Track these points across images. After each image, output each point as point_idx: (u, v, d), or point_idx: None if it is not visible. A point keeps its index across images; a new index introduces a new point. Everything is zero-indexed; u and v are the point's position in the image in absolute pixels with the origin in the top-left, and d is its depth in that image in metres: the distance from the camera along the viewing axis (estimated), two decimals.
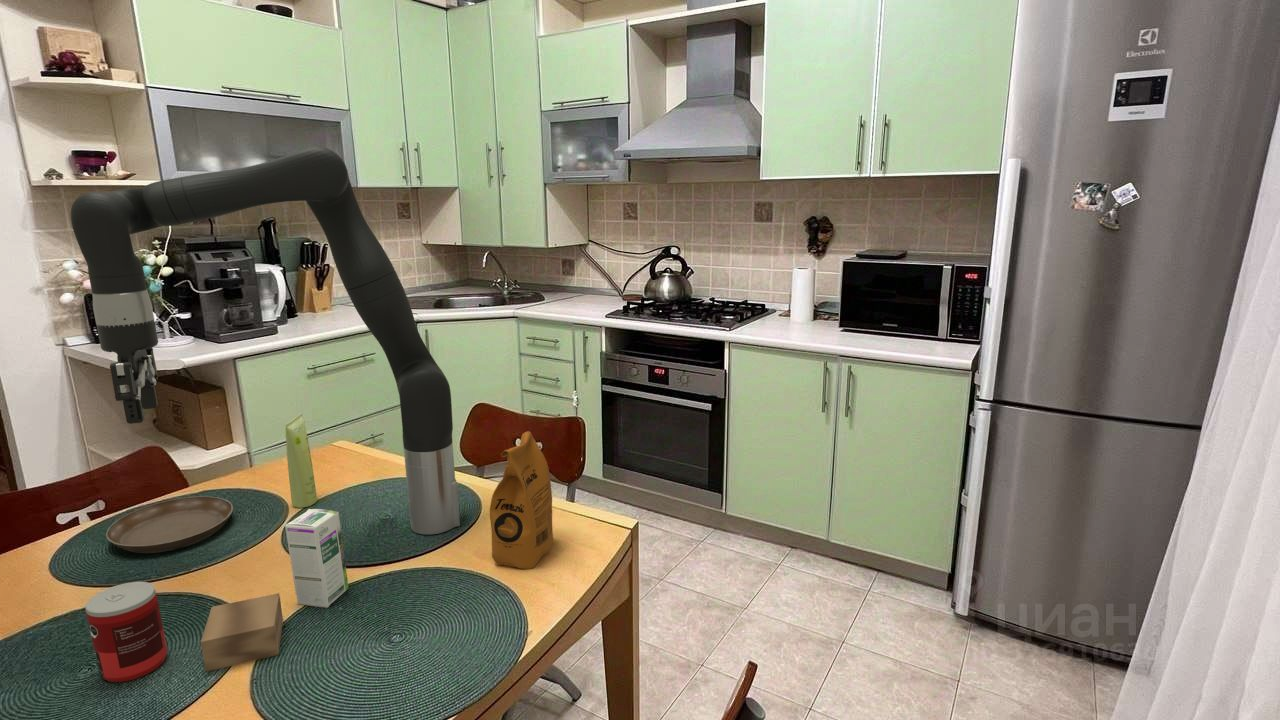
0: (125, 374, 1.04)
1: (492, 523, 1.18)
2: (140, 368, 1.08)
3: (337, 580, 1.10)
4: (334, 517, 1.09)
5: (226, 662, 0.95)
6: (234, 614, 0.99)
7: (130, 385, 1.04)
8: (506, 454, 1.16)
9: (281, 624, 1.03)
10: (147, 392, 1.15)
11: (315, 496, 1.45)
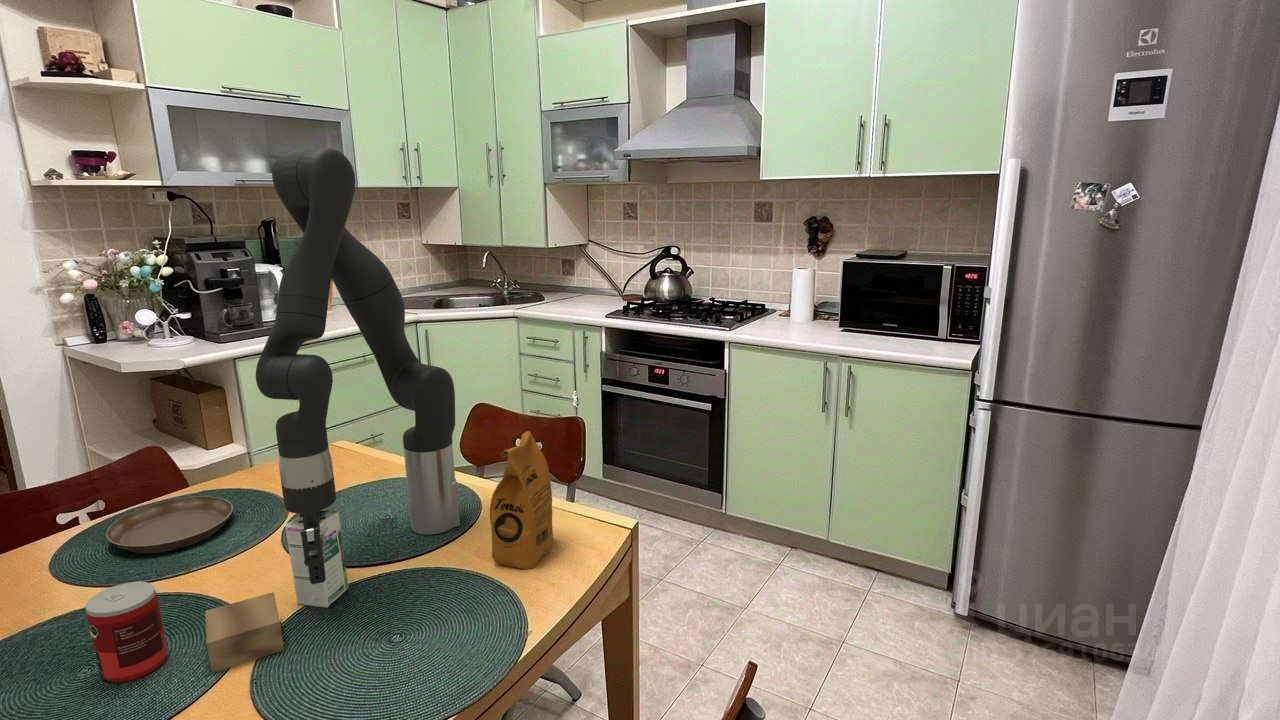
0: (315, 540, 1.02)
1: (492, 523, 1.18)
2: None
3: (337, 579, 1.10)
4: (334, 517, 1.09)
5: (232, 662, 0.95)
6: (232, 615, 0.98)
7: (319, 550, 1.03)
8: (506, 454, 1.16)
9: None
10: None
11: None
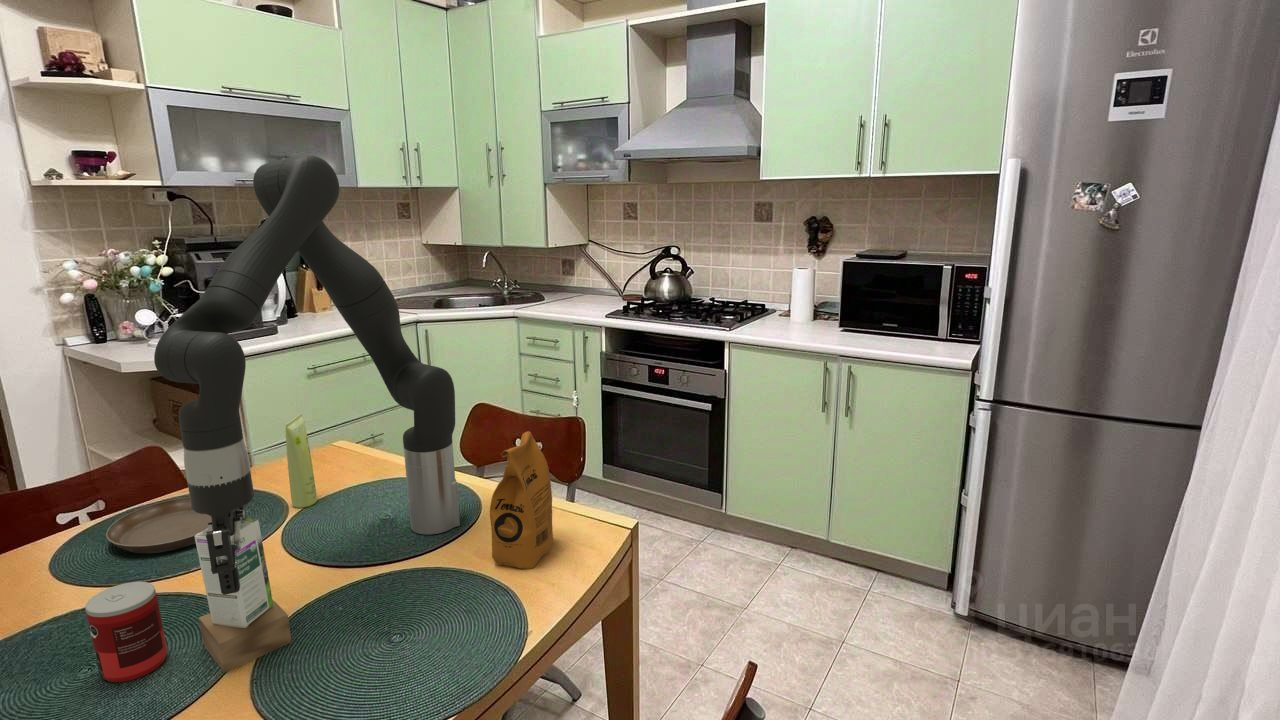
0: (223, 544, 0.89)
1: (492, 523, 1.18)
2: (236, 529, 0.93)
3: (258, 596, 0.98)
4: (252, 526, 0.96)
5: (244, 660, 0.95)
6: None
7: (228, 556, 0.89)
8: (506, 454, 1.16)
9: None
10: None
11: (315, 496, 1.45)
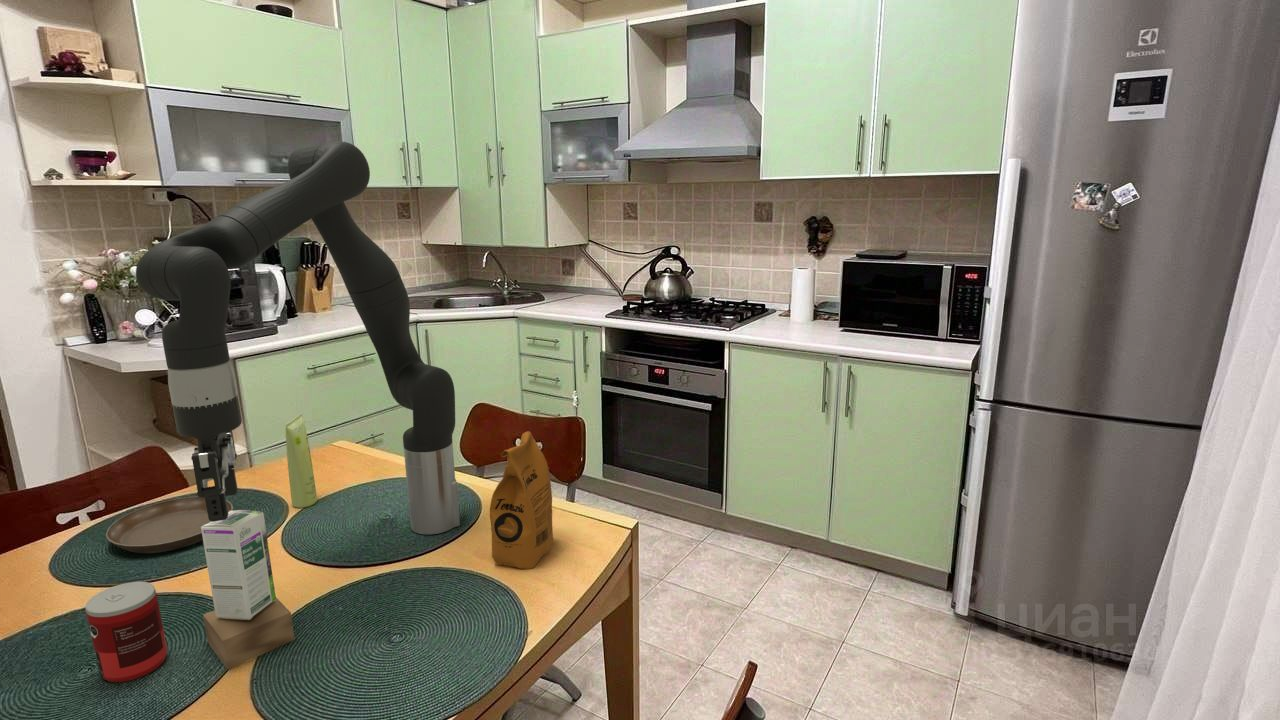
0: (209, 466, 0.86)
1: (492, 523, 1.18)
2: (223, 454, 0.90)
3: (262, 588, 0.99)
4: (258, 518, 0.99)
5: (247, 657, 0.96)
6: None
7: (215, 479, 0.87)
8: (506, 454, 1.16)
9: None
10: (226, 477, 0.97)
11: (315, 496, 1.45)
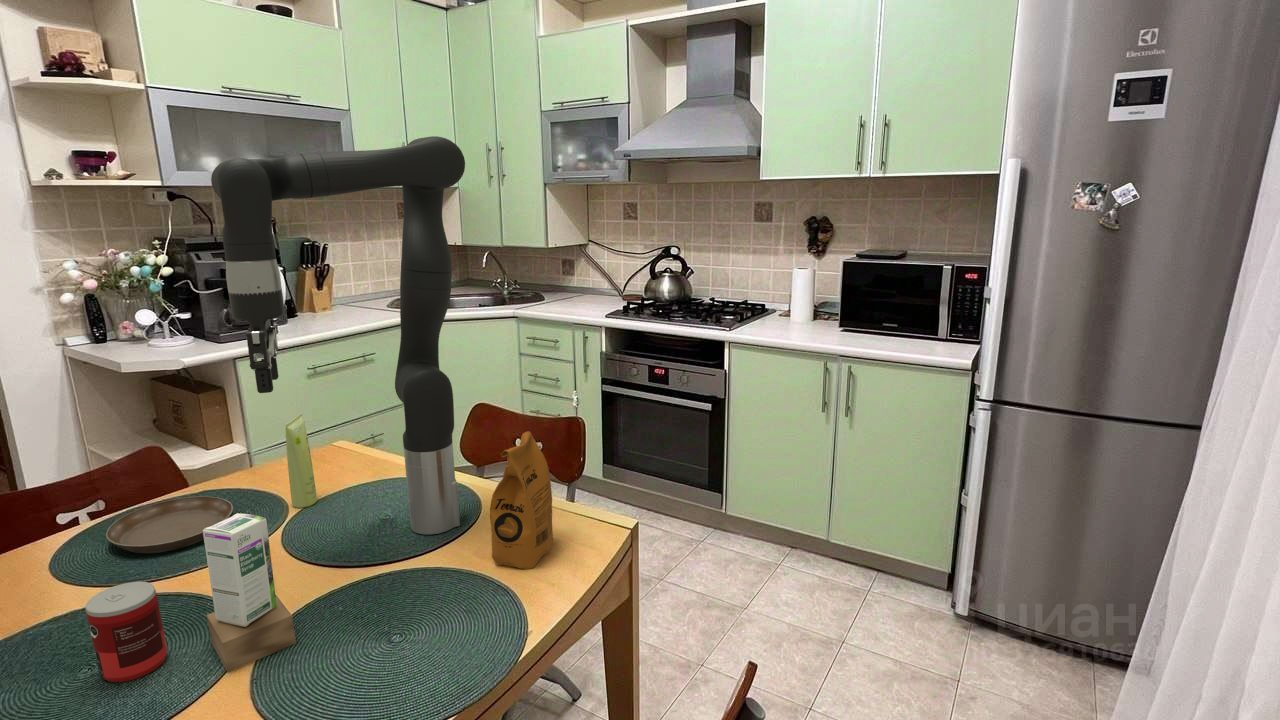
0: (260, 342, 1.03)
1: (492, 523, 1.18)
2: (270, 337, 1.08)
3: (261, 595, 0.98)
4: (259, 524, 0.97)
5: (247, 659, 0.95)
6: None
7: (265, 353, 1.04)
8: (506, 454, 1.16)
9: None
10: None
11: (315, 496, 1.45)
